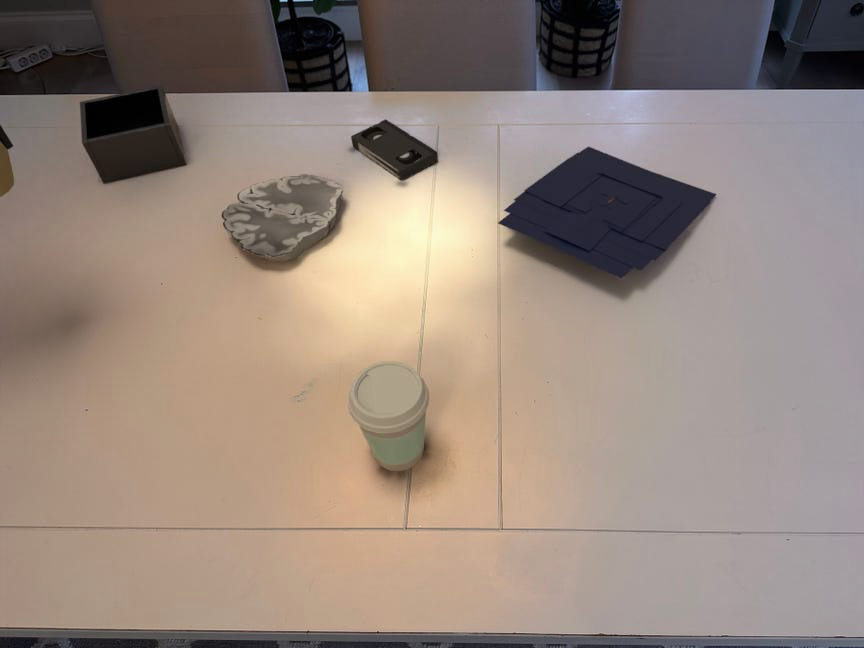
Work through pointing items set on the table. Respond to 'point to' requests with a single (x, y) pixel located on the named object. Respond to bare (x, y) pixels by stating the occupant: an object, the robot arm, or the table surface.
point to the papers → (606, 211)
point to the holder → (131, 134)
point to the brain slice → (283, 215)
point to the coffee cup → (391, 412)
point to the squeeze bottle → (5, 171)
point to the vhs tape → (394, 149)
